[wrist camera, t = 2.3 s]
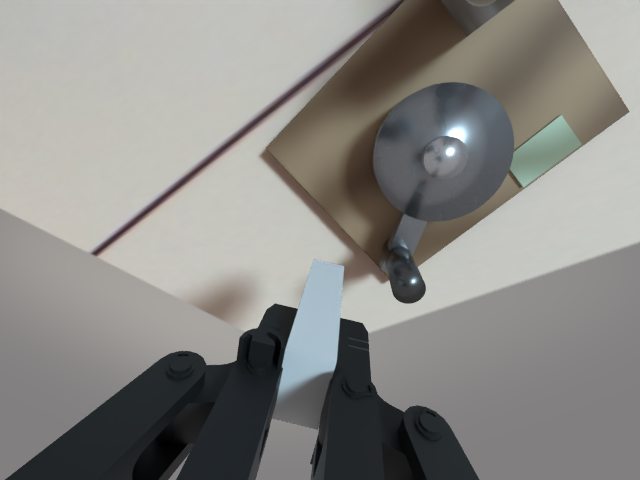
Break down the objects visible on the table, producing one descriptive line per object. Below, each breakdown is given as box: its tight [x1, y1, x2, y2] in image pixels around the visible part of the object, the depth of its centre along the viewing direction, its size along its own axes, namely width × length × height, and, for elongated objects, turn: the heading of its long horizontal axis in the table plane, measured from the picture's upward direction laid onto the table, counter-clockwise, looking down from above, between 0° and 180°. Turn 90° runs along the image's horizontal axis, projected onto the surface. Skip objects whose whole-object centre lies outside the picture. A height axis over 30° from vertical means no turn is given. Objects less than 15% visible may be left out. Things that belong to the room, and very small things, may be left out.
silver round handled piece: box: [372, 82, 514, 303], centre depth 19 cm, size 12×8×6 cm, turn 164°
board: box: [266, 0, 629, 277], centre depth 17 cm, size 14×18×9 cm
